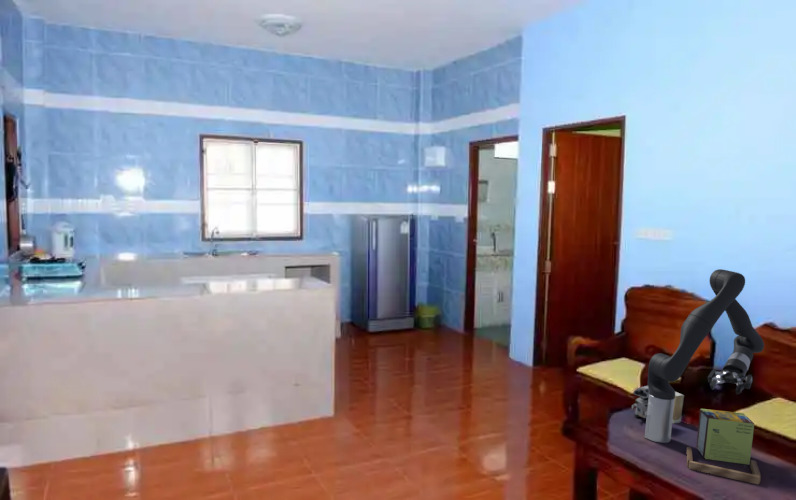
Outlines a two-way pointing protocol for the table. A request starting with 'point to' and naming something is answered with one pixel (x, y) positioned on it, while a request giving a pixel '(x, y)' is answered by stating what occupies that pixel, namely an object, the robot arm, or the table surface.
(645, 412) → the figurine
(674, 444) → the table surface
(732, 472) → the display bay
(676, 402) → the skincare box
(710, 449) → the protein box
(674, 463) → the table surface
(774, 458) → the table surface
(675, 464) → the table surface
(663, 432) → the robot arm
